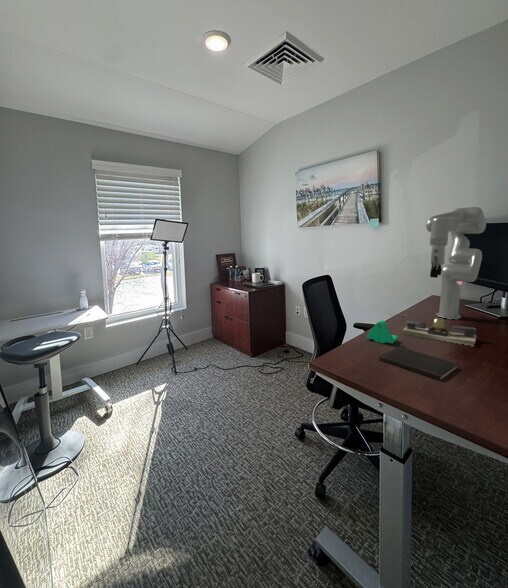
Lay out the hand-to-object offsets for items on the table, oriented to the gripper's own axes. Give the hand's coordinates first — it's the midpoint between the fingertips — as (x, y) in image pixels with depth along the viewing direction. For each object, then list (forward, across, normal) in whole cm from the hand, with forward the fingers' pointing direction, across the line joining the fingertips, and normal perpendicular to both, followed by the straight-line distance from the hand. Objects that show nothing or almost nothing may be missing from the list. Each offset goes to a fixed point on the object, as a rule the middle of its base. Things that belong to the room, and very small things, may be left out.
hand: (435, 276), depth 155 cm
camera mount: (+29, -32, +15) cm, 46 cm away
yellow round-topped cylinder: (+26, -12, -5) cm, 29 cm away
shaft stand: (+28, -12, -5) cm, 31 cm away
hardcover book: (+29, -52, -4) cm, 59 cm away
